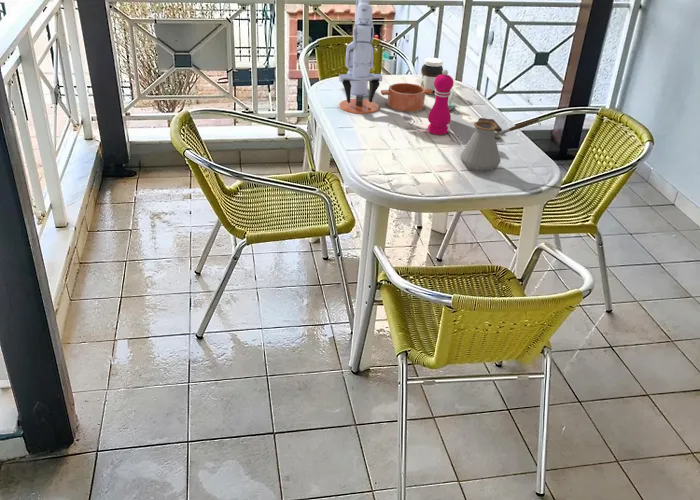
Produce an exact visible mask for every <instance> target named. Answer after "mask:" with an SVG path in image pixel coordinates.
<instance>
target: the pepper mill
mask: <svg viewBox="0 0 700 500" xmlns="http://www.w3.org/2000/svg"><path fill="white" fill-rule="evenodd" d="M434 86H435V88H436V89H435V93H434V94H433V95H435V98H434V99H435V100H434V103H433V106H432V107H431V109H430V111H429V112H428V116H427V120H428V123H429V124H428V126H427V127H428V128H427V131H428V132H429V133H430V134H433V135H438V136H442V135H446V134H447V133H448V131H449V126H448V125H449V124H450V123H451V120H452V119H451V116H452V115H451V110H449V108H448V98H449V96H450V93H451V91H452V88H453V87H454V79H453V77H452V76H451V75H449V70H448V69H443V71H442V74H441V75H438V76H437V77H436V78H435V81H434ZM450 89H451V91H450Z"/></svg>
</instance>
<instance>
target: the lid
mask: <svg viewBox="0 0 700 500" xmlns="http://www.w3.org/2000/svg"><path fill="white" fill-rule="evenodd" d="M338 106H339V108H340V110H342V111H344V112H347V113H350V114H361V115H363V114H373V113H376V112H377V111H379V109H380V105H379V104H378V103H376V102H375V101H373V100H372V102H369V99H364V96H363V95H356V96H355V98H350V103H348V102H347V99H344V100H341V101H340V102H339V105H338Z"/></svg>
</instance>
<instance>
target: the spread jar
mask: <svg viewBox="0 0 700 500" xmlns="http://www.w3.org/2000/svg"><path fill="white" fill-rule="evenodd" d="M443 64H444V61H443V59H441V58H438V57H426V58H424V60H423V65H422V66H421V68H420V76H419V86H421V87H424V89H431V90H432V91H433V93H432V94H431V95H435V94H434V93H435V89H436V88H435V86H434V81H435V78H436V77H437V76H438V75H441V74H442V71H443V70H444V67H443ZM450 91H452V88H451V89H450Z"/></svg>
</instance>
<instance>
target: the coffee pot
mask: <svg viewBox="0 0 700 500" xmlns="http://www.w3.org/2000/svg"><path fill="white" fill-rule="evenodd" d="M533 123H534V124H535V123H537V124H538V125H539V126H541V125H542V124H541V121H540V118H534V119H530V120H529V121H524V122H521V123H518V124H515V125H513V126H511V127H509V128H507V129H502V131H500V132H497V133H494V131H495V129H497V125H496V124H494V123H492V122H488V121H478V120H477V121H475V122H474V123H473V126H474V128H475V130H474V132H473V134H472V135H471V137H470V139H469V140H468V142H467V143H466V145H465V147H464V148H463V149H462V151H461V153H460V155H459V157H460V160H461V163H462V164H463V165H464V166H465V168H466V169H467V170H469V171H472V172H474V173H482V174H483V173H489V172H492V170H495V169H496V168H497V167H498V166H499V165H500V164H501V155H500V152H499V148H498V144H497V139H496V138H497V137H496V136H498V135H500V136H501V135H504V134H506V133H508V132H513V131H515V130H520V129H522V128H525V127H527V126H529V125H533Z"/></svg>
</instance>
